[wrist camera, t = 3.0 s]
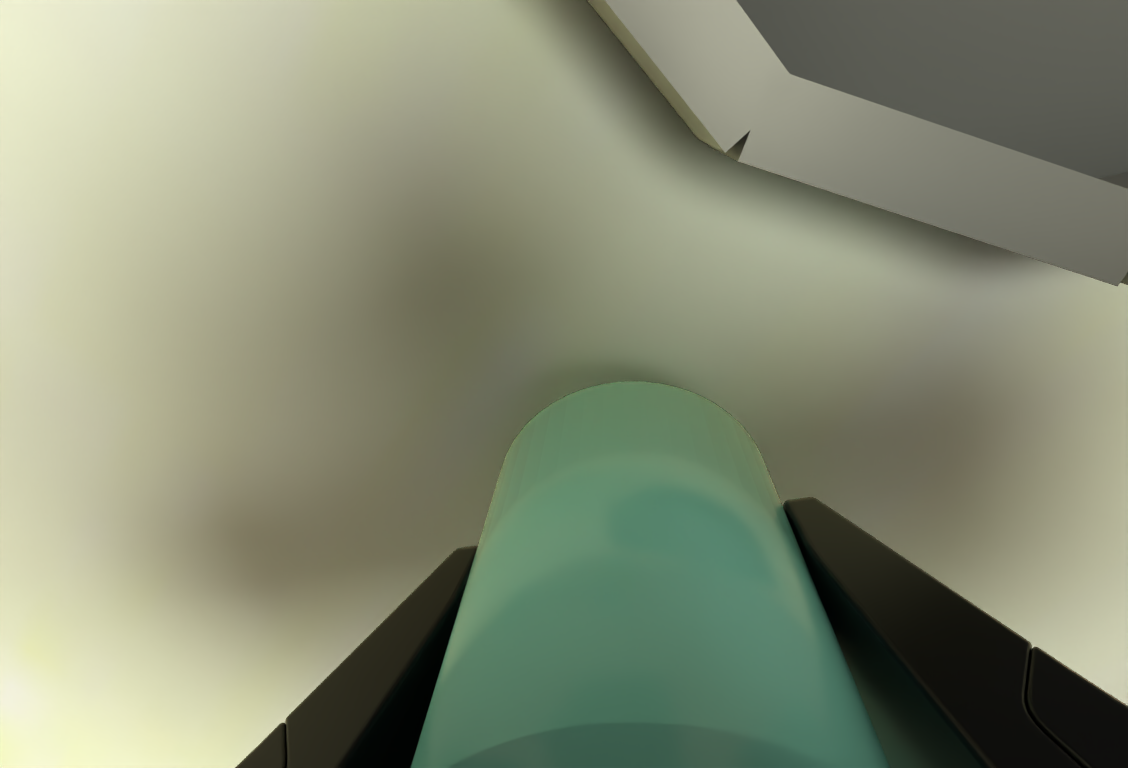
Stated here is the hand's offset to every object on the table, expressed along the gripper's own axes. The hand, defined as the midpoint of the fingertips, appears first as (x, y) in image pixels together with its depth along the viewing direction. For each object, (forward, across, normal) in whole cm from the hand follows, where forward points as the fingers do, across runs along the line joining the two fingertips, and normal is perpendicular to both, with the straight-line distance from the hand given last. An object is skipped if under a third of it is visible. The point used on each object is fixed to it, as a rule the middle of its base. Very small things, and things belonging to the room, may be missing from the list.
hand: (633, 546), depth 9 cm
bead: (+1, 0, 0) cm, 1 cm away
